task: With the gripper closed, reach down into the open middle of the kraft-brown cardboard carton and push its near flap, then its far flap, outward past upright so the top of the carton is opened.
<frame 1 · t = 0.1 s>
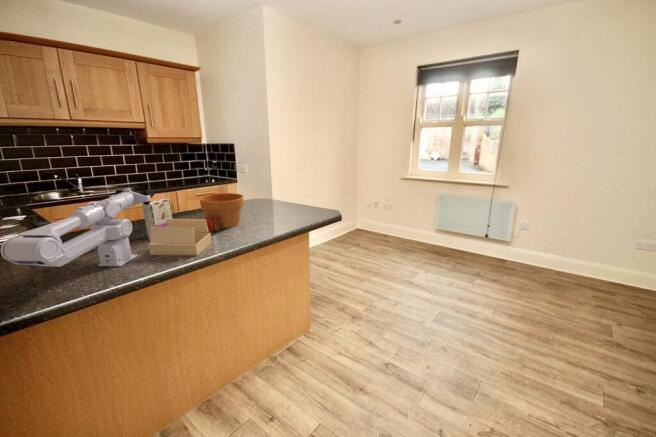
hand: (143, 192, 117), 22 cm above the counter, tool horizontal, fingers open, 7 cm apart
carton: (182, 248, 116), on the counter
flower pot: (224, 225, 149), on the counter
candy bar box: (161, 236, 131), on the counter
dragon fruit: (210, 232, 137), on the counter
far flap: (187, 225, 120), point 8 cm above the counter, hinge at 75.0°
near flap: (172, 235, 109), point 8 cm above the counter, hinge at 75.0°
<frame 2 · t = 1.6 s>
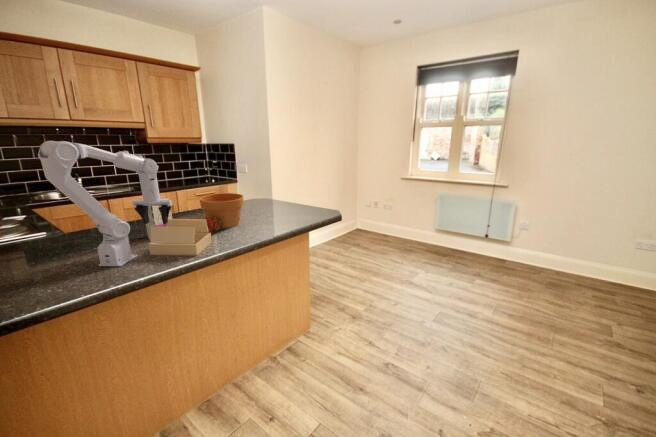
hand: (156, 223, 115), 10 cm above the counter, tool pointing down, fingers open, 7 cm apart
nothing on the counter moved.
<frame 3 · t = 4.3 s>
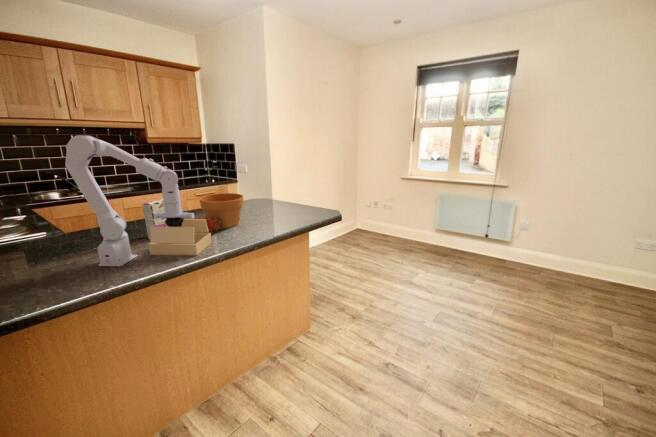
hand: (176, 236, 112), 6 cm above the counter, tool pointing down, fingers closed, pressing on near flap
near flap: (172, 235, 109), point 8 cm above the counter, hinge at 75.2°, touching gripper
everything else where it was.
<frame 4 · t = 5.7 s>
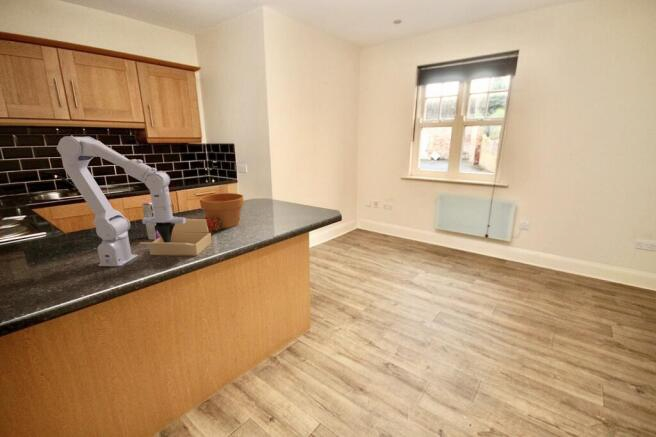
hand: (167, 242, 105), 7 cm above the counter, tool pointing down, fingers closed, pressing on near flap
near flap: (167, 243, 105), point 6 cm above the counter, hinge at 153.9°, touching gripper
everything else where it was.
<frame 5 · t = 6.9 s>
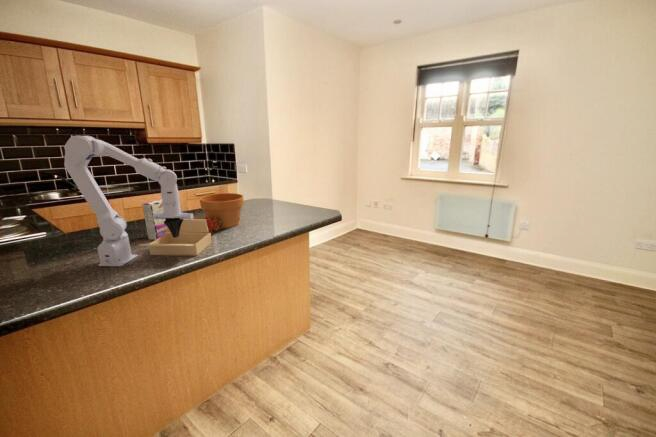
hand: (176, 236, 111), 6 cm above the counter, tool pointing down, fingers closed
near flap: (167, 244, 105), point 5 cm above the counter, hinge at 160.8°
everything else where it was.
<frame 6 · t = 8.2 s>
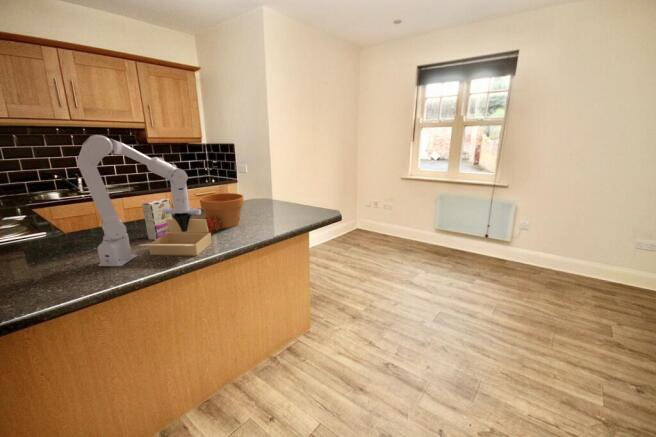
hand: (184, 231, 118), 7 cm above the counter, tool pointing down, fingers closed, pressing on far flap
far flap: (187, 225, 120), point 8 cm above the counter, hinge at 75.3°, touching gripper
near flap: (167, 245, 105), point 5 cm above the counter, hinge at 161.5°
everything else where it was.
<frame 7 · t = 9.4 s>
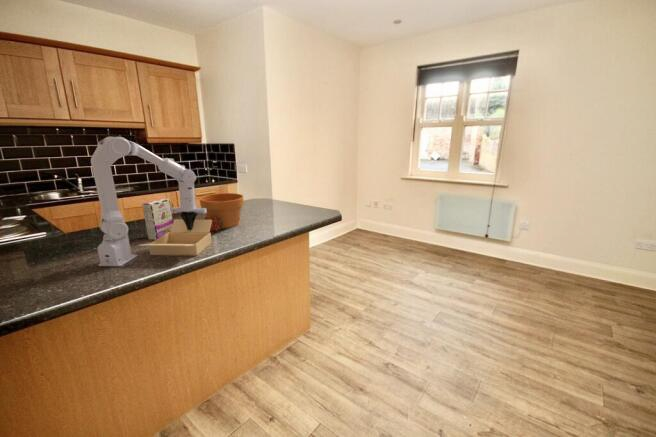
hand: (190, 229, 122), 6 cm above the counter, tool pointing down, fingers closed, pressing on far flap
far flap: (191, 225, 124), point 7 cm above the counter, hinge at 136.0°, touching gripper
everything else where it was.
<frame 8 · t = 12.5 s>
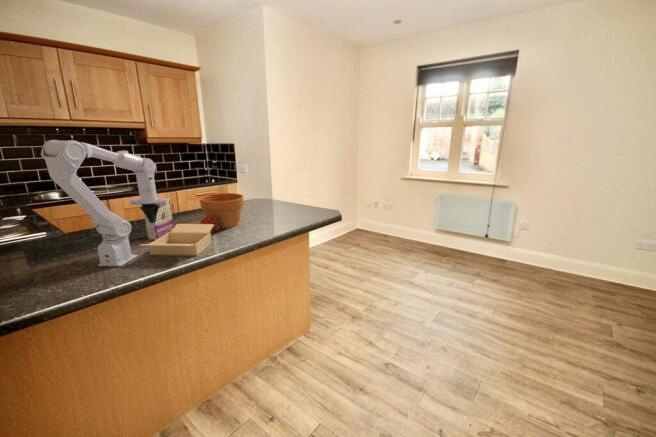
hand: (152, 222, 116), 10 cm above the counter, tool pointing down, fingers closed
far flap: (192, 228, 125), point 5 cm above the counter, hinge at 162.1°
everything else where it was.
at the end: near flap at +162° (first picture: +75°); far flap at +162° (first picture: +75°) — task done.
